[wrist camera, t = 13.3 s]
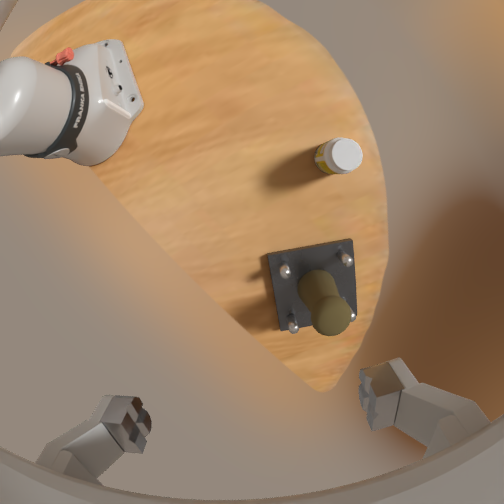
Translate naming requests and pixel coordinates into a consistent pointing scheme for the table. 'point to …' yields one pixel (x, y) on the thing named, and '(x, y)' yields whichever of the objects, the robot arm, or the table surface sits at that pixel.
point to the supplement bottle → (338, 156)
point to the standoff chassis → (305, 260)
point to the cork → (324, 303)
